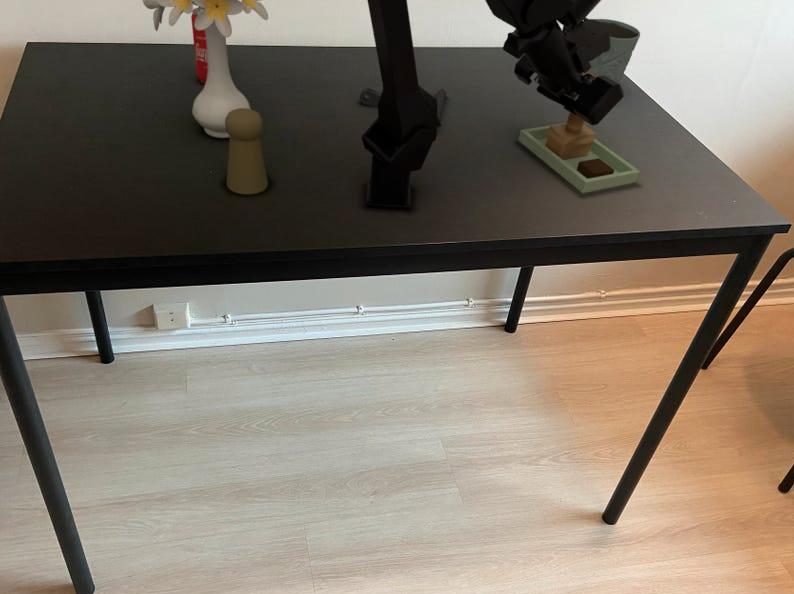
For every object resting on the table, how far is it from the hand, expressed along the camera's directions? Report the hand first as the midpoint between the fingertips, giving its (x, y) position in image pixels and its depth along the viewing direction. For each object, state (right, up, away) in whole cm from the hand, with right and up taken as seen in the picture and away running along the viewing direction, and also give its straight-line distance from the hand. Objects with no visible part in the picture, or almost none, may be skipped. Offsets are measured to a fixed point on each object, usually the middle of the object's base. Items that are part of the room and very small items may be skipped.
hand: (584, 113), depth 113 cm
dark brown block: (+1, -10, 0) cm, 10 cm away
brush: (-2, -5, +4) cm, 7 cm away
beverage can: (-63, +12, +18) cm, 67 cm away
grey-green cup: (+10, +13, +25) cm, 30 cm away
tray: (-1, -7, +3) cm, 8 cm away
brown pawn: (-53, -13, -8) cm, 55 cm away
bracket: (-29, +6, +14) cm, 33 cm away
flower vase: (-59, -2, +3) cm, 59 cm away
